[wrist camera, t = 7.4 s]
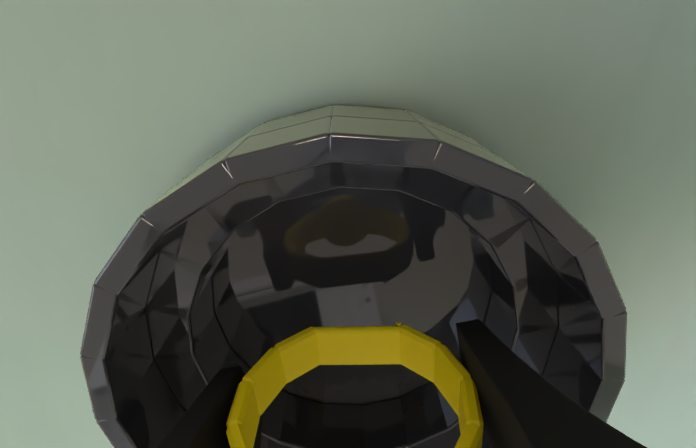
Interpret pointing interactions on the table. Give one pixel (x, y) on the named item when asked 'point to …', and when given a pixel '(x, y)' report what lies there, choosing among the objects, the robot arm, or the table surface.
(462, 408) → the watch
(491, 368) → the robot arm
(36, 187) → the table surface
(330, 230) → the bowl
